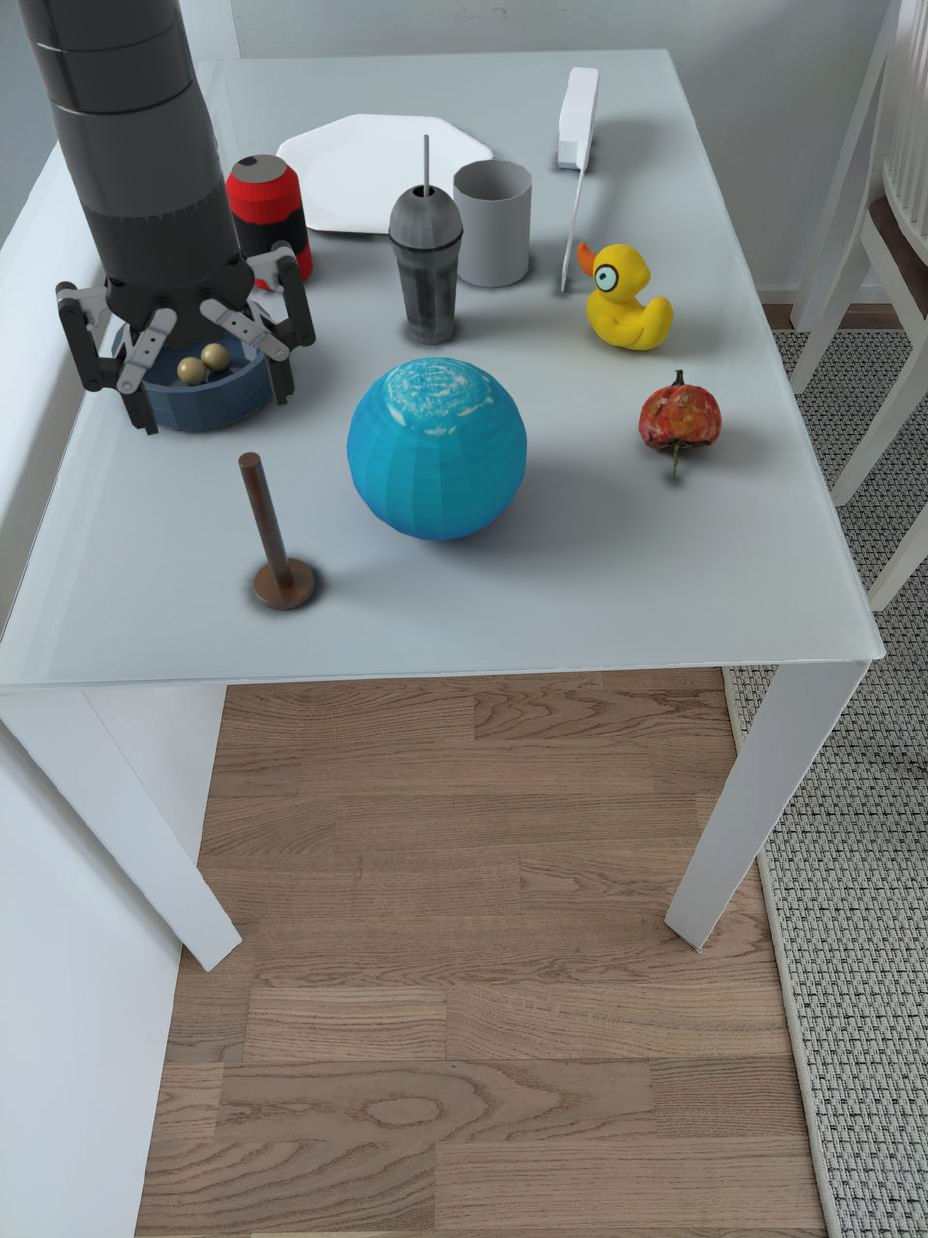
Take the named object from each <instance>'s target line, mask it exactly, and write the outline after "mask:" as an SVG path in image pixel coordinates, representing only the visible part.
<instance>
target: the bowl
mask: <svg viewBox="0 0 928 1238" xmlns="http://www.w3.org/2000/svg"><path fill="white" fill-rule="evenodd" d="M252 301H253V302H254V303H255V305H256V306H257V307H258V309H259V310H260V311H262V312H263V313H264V314H266V315H267V316H268V317H270V318H271V319H272V317H271V315H270V313H269V312H268V311H267V310H265V308H264V307H262V305H260V303H258V302H257V301H254V300H252ZM125 325H126V322H125V321H124V323H123V324H122V326H120V328H119V329H118V330H117V331H116V333H115V336H114V339H113V342H112V345H111V348H110V352H111V358H113V357H114V355H115V353H116V351H117V349H118V346H119V344H120V342H121V340H122V337H123V330H124V327H125ZM222 336H223V339H222V340H217V341H212V342H195V343H193V344H191V345H189V346H186V347H184V348H179V349H174V350H172V349H171V346H164V345H162V347H161V349H160V351H159V353H158V355H157V357H156V359H155V361H154V363H153V365H152V367H151V368H150V369H147V370H146V371H145V373H144V375H143V377H142V381H143V383H144V386H145V389H146V392H147V394H148V397H149V400H150V403H151V406H152V408H153V411H154V414H155V418H156V423H157V426H160V427H165V428H170V429H174V430H179V431H185V430H186V431H187V430H188V431H190V430H209V429H214V428H218V427H222V426H226V425H230V424H232V423H234V422H237V421H239V420H241V419H243V418H245V417H248V416H250V415H252V414H253V413H255V412H256V411H258V410H259V409H260V408H261V407H262V406H263V405H265V404H266V403H267V402H268V401H270V399H271V398H272V397H273V396H274V394H273V391H272V388H271V384H270V379H269V374H268V370H267V365H266V361H265V356H264V352H262V351H261V350H260V349H258V348H257V347H255V346H253V347H251V346H249V345H247V344H246V343H245V342H243V341H242V340H240V339H239V338H237V337H236V336H235V335H233V334H232V333H230V332H227V333H226V334H224V335H222ZM212 343H216V344H220V345H222V346H224V347H225V348H226V349H227V351H228V353H229V356H230V361H229V365H228V366H227V368H226V369H225V370H223V371H221V372H212V371H210V370H208V369H207V368H206V370H207V375H206V378H205V380H204V381H203V382H202V383H201V384H200V385H197V386H189V385H187V384H185V383H183V382H182V381H181V380H180V378H179V376H178V372H177V368H178V365H179V363H180V362H181V361H182V360H183V359H184V358H187V357H195V358H198V359H199V360H201V353H202V350H203V349H204V348H205V347H206V346H207V345H209V344H212Z"/></svg>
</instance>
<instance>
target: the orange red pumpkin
mask: <svg viewBox="0 0 928 1238" xmlns="http://www.w3.org/2000/svg"><path fill="white" fill-rule="evenodd" d="M674 372H675V373H676V378H675V380H674V381H673V382H672V383H671V384H670V385H666V386H664V387H662V388H660V389H658V390H656V391H654V392H653V393H652V394H651V395H650V396H648V398H647V399H646V400H645V402H644V403H643V405H642V407H641V410H640V414H639V419H638V427H637V429H638V432H639V434H640V437H641V438H642V440H643V442H644V443H645V445H646V446H647V447H649V448H650V449H652V450H653V449H654V450H659V449H660V450H661V449H665V448H670V447H671V448H674V449H673V473H672V474H673V475H672V477H673V478H672V481H675V479H676V475H677V467H678V464H679V459H678V450H679V448H681V449H687V450H693V449H701V448H703V447H704V446H707V447H709V446H712V445H714V444H715V443H716V441H717V440H718V439H719V437H720V435H721V430H722V425H723V419H722V414H721V413H722V412H721V409H720V406H719V404H718V401H717V399H716V398H715V396H714V395H713V394H712V393H710V391H708V390H707V389H705V388H703V387H701V386H699V385H692V384H689V383H685V381H684V370H683V369H681V368H680V369H674Z"/></svg>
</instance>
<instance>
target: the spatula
mask: <svg viewBox="0 0 928 1238" xmlns="http://www.w3.org/2000/svg"><path fill="white" fill-rule="evenodd" d="M600 77H601V76H600V72H599V68H592V67H577V66H576V67H575V66H574V67H572V69H571V71H570V72H569V76H568V83H567V87H566V92H565V95H564V98H563V103H562V106H561V111H560V114H559V119H558V120H559V122H558V131H559V138H558V152H557V166H558V168H560V169H572V170H573V169H574V170H580V173H579V178H578V183H577V189H576V195H575V201H574V206H573V210H572V216H571V222H570V228H569V233H568V237H567V244H566V249H565V254H564V258H563V259H564V260H563V265H562V271H561V272H562V273H561V284H560V285H561V286H560V291H561V292H562V293H563V292H564V291H565V284H566V278H567V272H568V268H569V267H568V266H569V261H570V256H571V250H572V244H573V239H574V233H575V228H576V221H577V216H578V210H579V205H580V200H581V194H582V189H583V182H584V178H585V171H587V169H588V163H589V158H590V152H591V146H592V142H593V137H594V130H595V129H594V127H595V121H596V113H597V108H598V107H597V106H598V101H599V100H598V99H599V88H600V79H601V78H600Z"/></svg>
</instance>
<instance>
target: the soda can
mask: <svg viewBox="0 0 928 1238" xmlns="http://www.w3.org/2000/svg"><path fill="white" fill-rule="evenodd" d="M225 185H226V190H227V194H228V199H229V203H230V208H231V212H232V216H233V221H234V225H235V230H236V234H237V239H238V243H239V248H240V249H241V251H242V252H243V253H244V254H245V255H246V256H247V258H249V257H253V256H257V255H261V254H265V253H269V252H271V248H272V245H273V244H274V243H275V242H277V241H279V240H284V241H287V242H288V243H289V244H290V246H291V248H292V251H293V253H294V255H295V258H296V260H297V263H298V265H299V268H300V271H301V275H302V279H303V283H305V282H306V281H307V280H308V279H309V277H310V275H311V274H312V273H313V270H314V267H313V266H314V264H313V257H312V251H311V246H310V245H311V244H310V239H309V233H308V228H307V227H306V221H305V215H304V209H303V203H302V197H301V191H300V185H299V179H298V175H297V173H296V172H295V171H294V170H293V169H292V168H291V167H290V166H289V165H288V164H286V162H285V161H284V160H283V159H281V158H279V157H277V156H276V155H273V154H253V155H249V156H245V157H243V158H242V159H240V160H238V161H237V162H235V163H234V165H233V166H232V168H231V171H230V174H229V175H228V177H227V179H226V181H225ZM254 286H255V287H257V288H259V289H262V290H266V291H273V290H271V289H270V288H269V286H268V284H267V283H266V282H265V281H263V280H260V279H256V280H255V284H254ZM273 292H274V291H273Z"/></svg>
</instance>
